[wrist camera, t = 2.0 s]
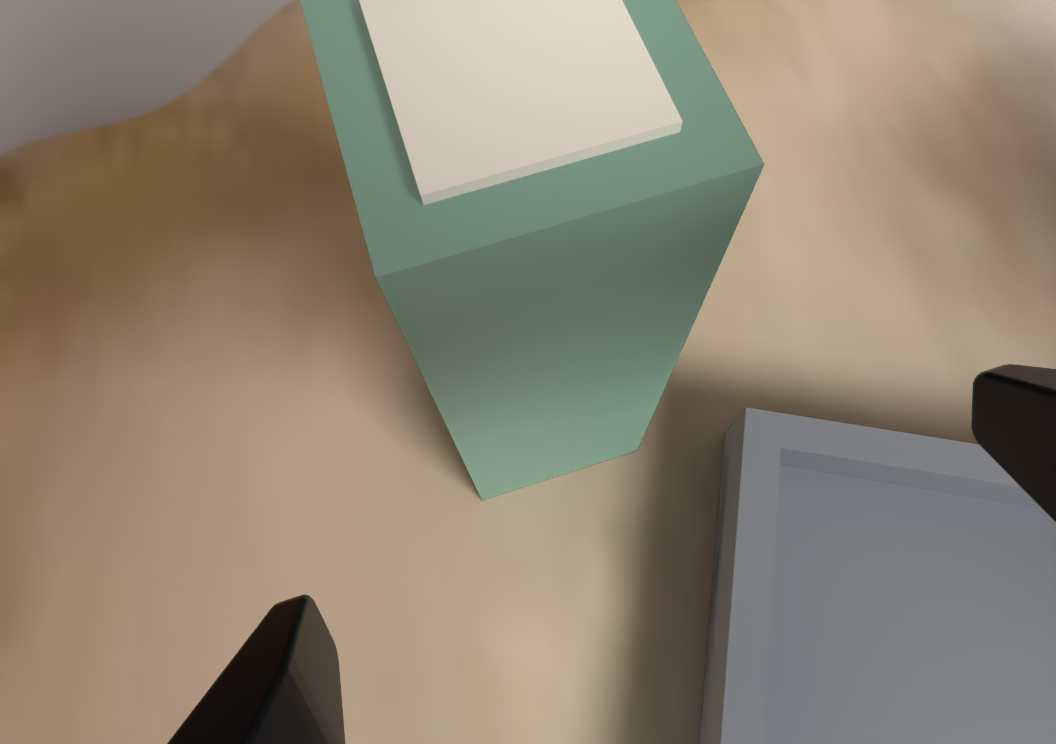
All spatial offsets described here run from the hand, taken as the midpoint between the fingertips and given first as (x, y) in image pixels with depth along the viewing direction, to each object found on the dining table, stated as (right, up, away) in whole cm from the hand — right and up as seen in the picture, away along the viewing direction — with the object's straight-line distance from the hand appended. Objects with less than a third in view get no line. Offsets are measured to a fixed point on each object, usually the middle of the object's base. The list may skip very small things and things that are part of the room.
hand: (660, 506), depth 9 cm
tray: (+9, -7, +10) cm, 15 cm away
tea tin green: (-2, +1, +13) cm, 14 cm away
